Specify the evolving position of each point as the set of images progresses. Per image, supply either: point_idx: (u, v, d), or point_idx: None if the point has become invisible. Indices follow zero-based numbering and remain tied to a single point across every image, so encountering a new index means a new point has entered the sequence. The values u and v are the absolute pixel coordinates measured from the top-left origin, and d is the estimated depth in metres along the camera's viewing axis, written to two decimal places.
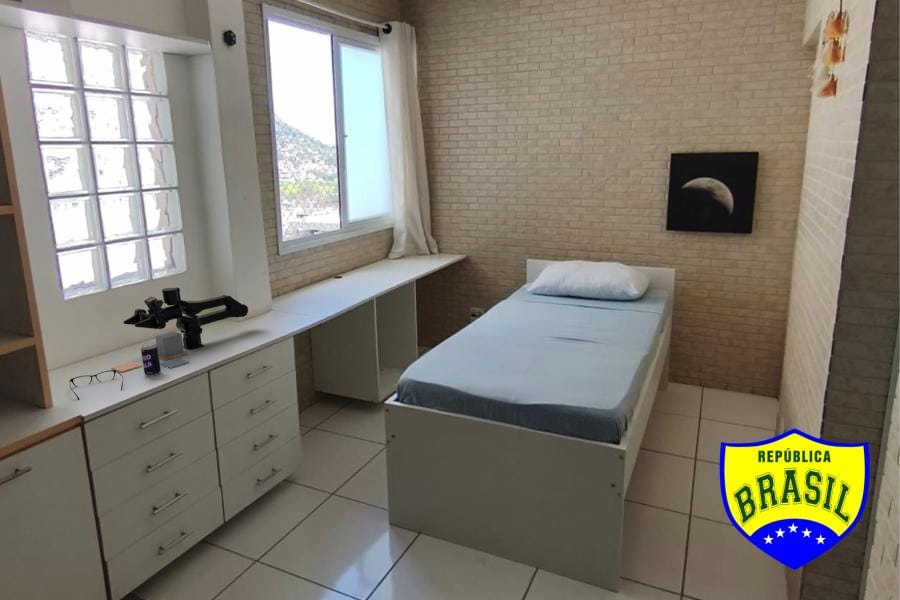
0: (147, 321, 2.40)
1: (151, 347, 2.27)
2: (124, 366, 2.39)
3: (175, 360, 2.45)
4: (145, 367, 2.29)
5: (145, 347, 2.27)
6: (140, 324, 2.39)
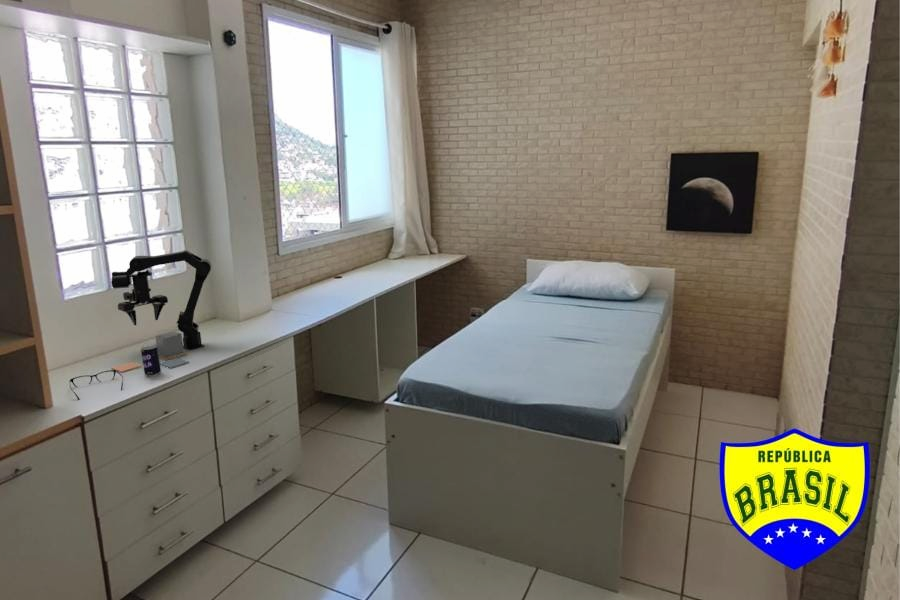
0: (129, 315, 2.50)
1: (151, 347, 2.27)
2: (124, 366, 2.39)
3: (175, 360, 2.45)
4: (145, 367, 2.29)
5: (145, 347, 2.27)
6: (133, 320, 2.51)
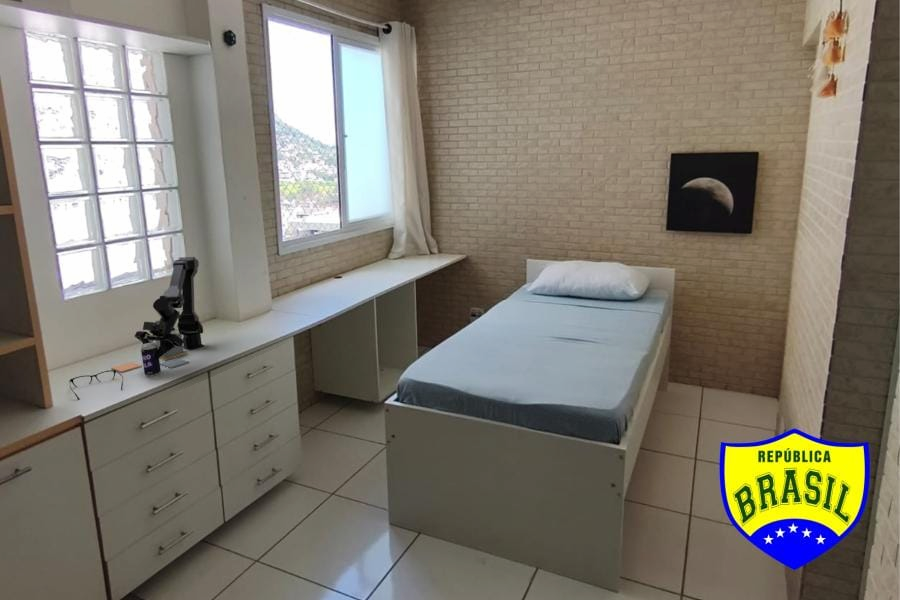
0: (162, 348, 2.30)
1: (151, 347, 2.27)
2: (124, 366, 2.39)
3: (175, 360, 2.45)
4: (145, 367, 2.29)
5: (145, 347, 2.27)
6: (158, 354, 2.29)
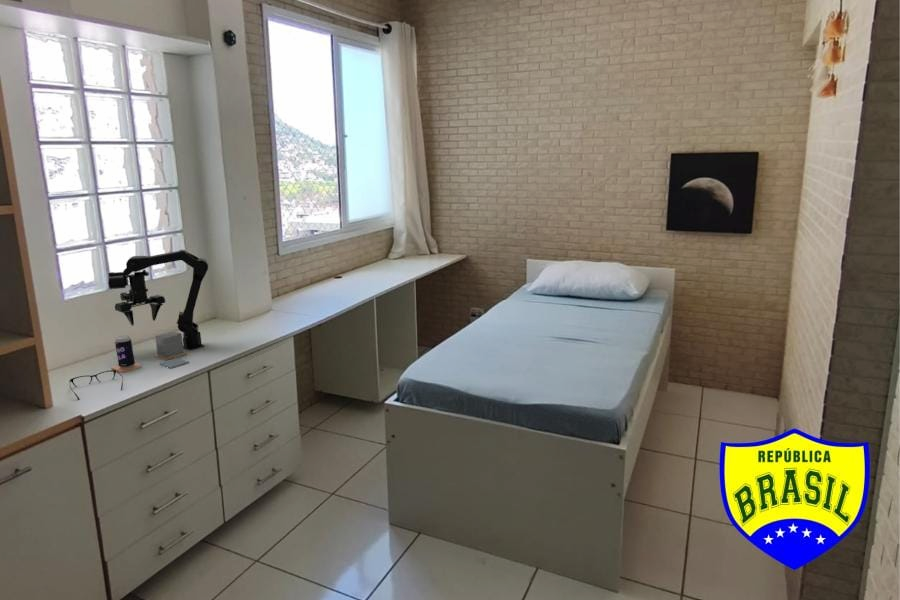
0: (126, 316, 2.50)
1: (125, 340, 2.35)
2: None
3: (175, 360, 2.45)
4: (119, 359, 2.36)
5: (119, 340, 2.34)
6: (130, 321, 2.51)
